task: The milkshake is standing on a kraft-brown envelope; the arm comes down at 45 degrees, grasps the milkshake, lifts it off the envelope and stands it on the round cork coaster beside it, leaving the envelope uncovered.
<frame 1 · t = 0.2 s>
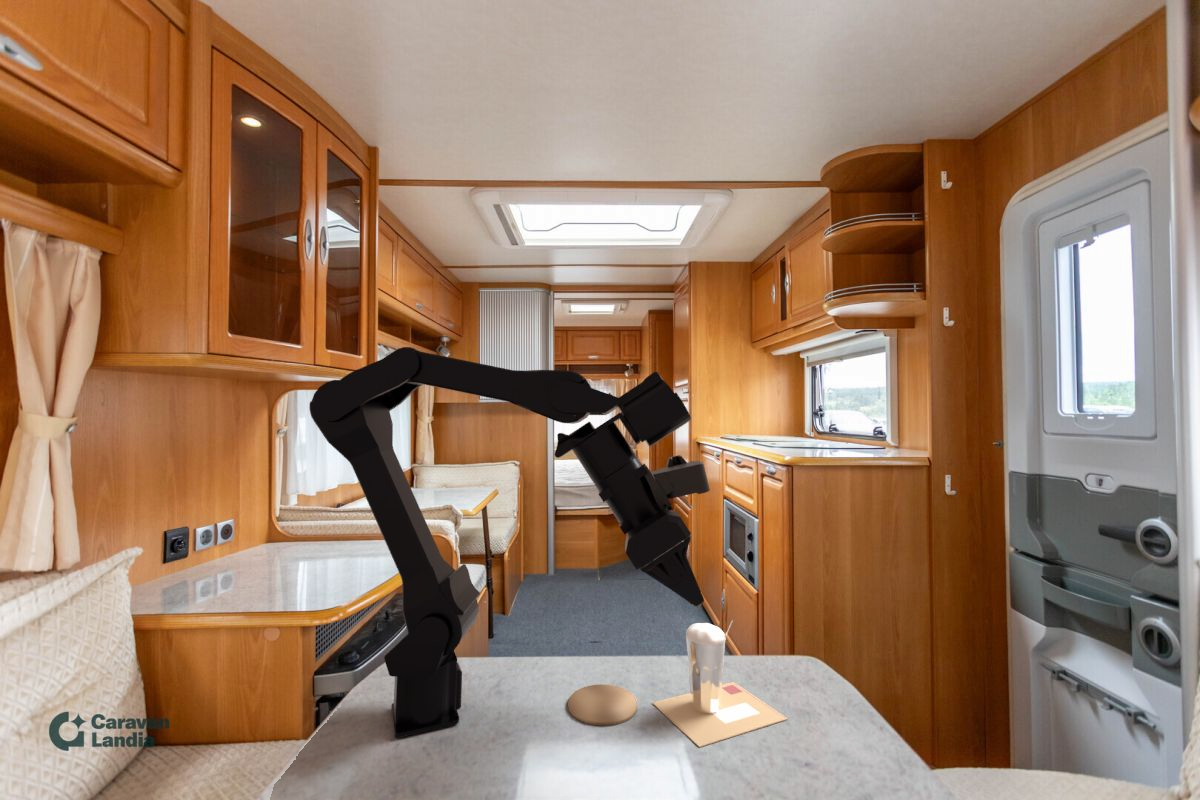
hand: (693, 589, 56), 14 cm above the table, tool tilted 35°, fingers open, 9 cm apart
coaster: (602, 705, 58), on the table
envelope: (718, 711, 57), on the table
milkshake: (709, 708, 58), resting on envelope
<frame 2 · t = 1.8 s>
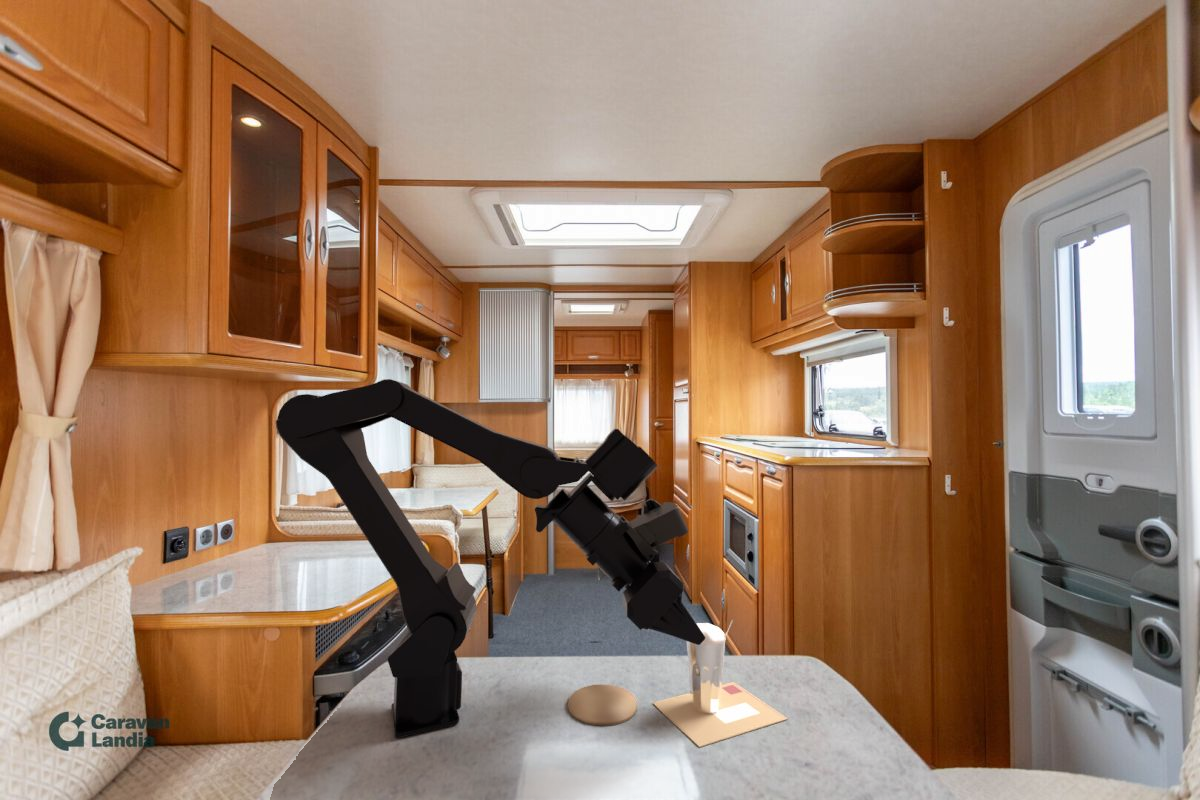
hand: (691, 624, 59), 9 cm above the table, tool tilted 45°, fingers open, 9 cm apart
nothing on the table moved.
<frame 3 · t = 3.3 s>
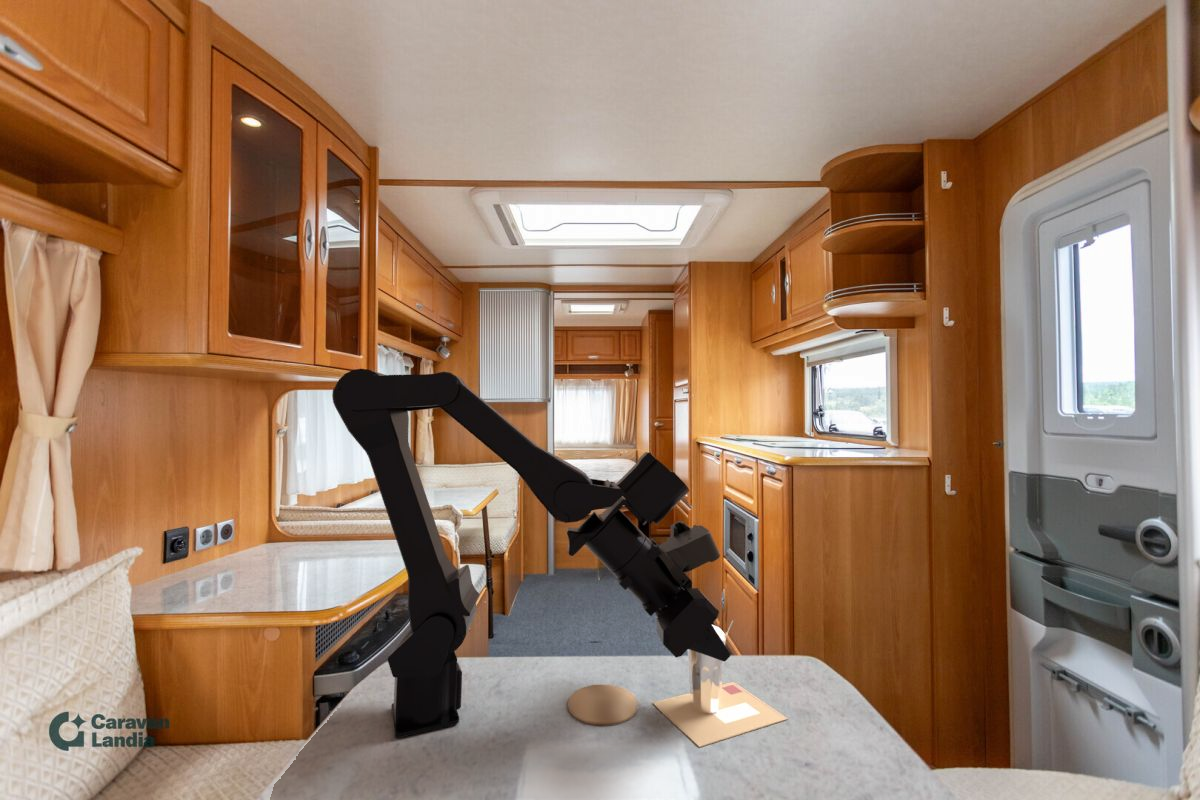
hand: (721, 648, 59), 7 cm above the table, tool tilted 45°, fingers closed on milkshake, 4 cm apart
milkshake: (709, 708, 58), resting on envelope, touching gripper
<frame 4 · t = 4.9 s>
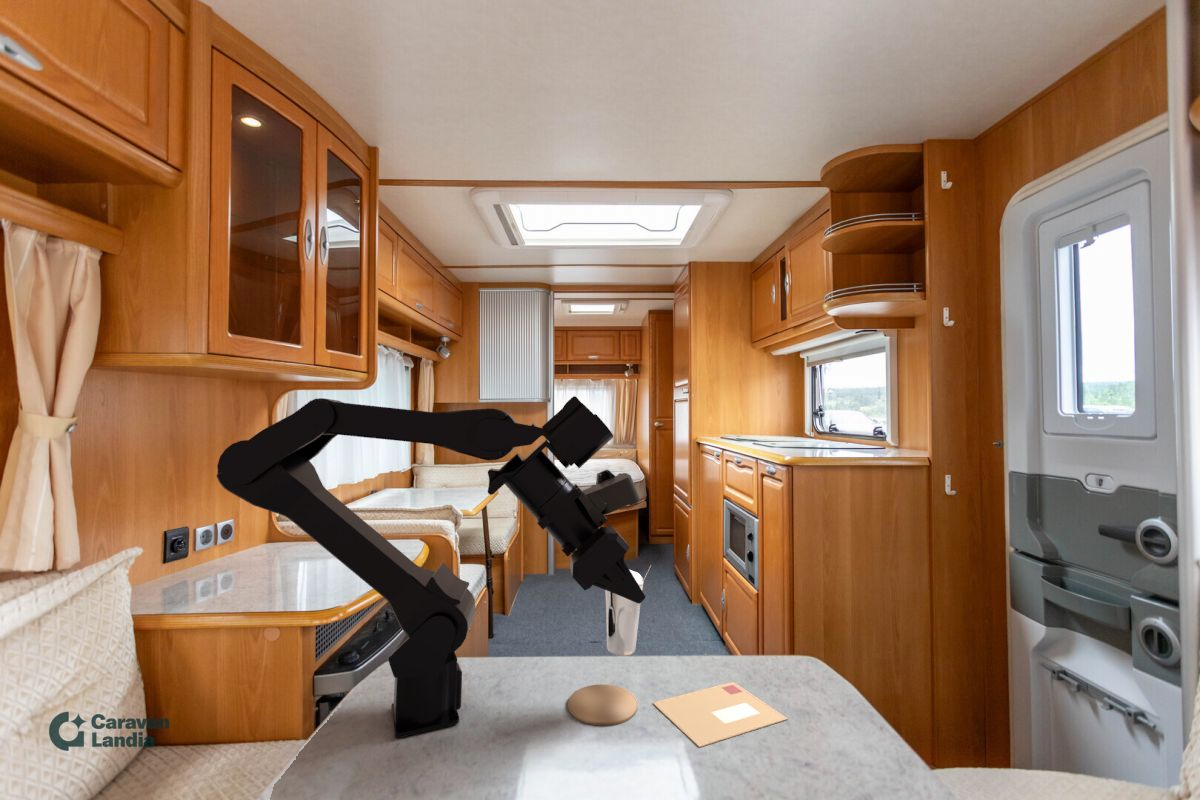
hand: (638, 593, 59), 13 cm above the table, tool tilted 45°, fingers closed on milkshake, 4 cm apart
milkshake: (624, 651, 59), point 6 cm above the table, touching gripper
when the fingers open (8 cm above the table, at t = 6.4 s): milkshake drops 1 cm, resting on coaster.
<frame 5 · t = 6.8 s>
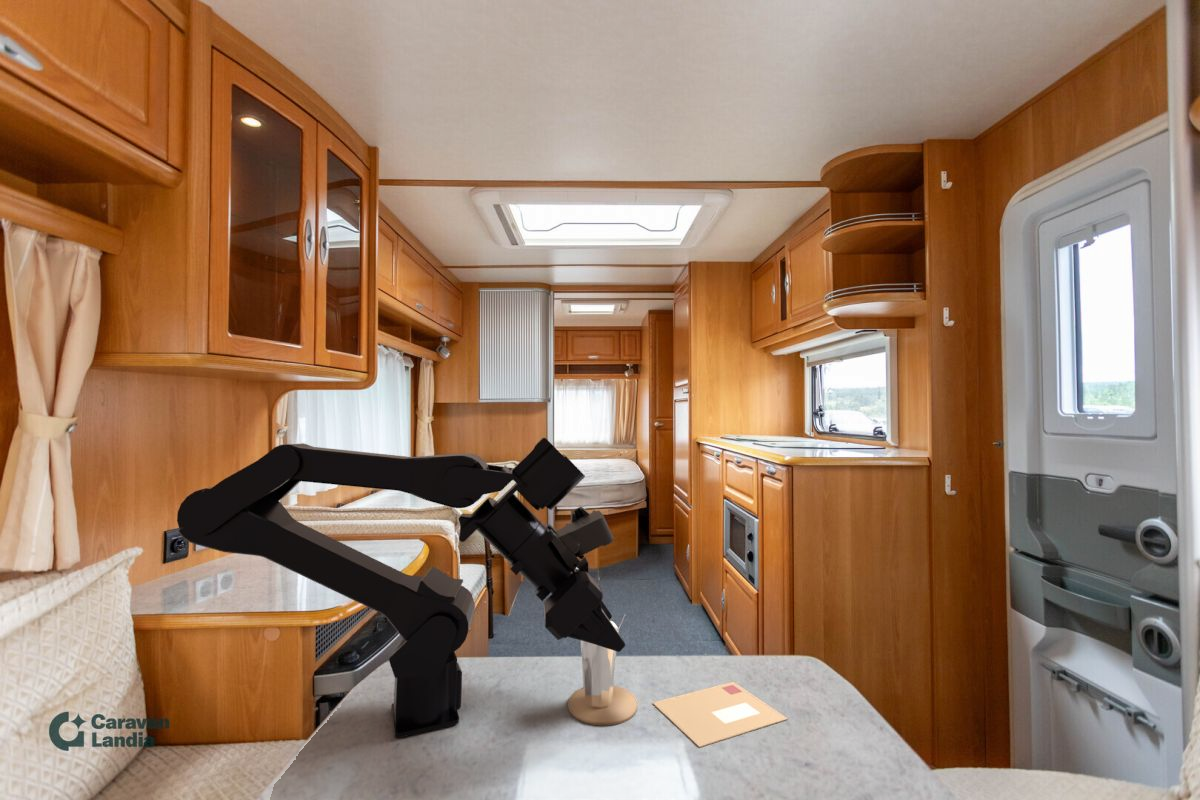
hand: (615, 632, 59), 8 cm above the table, tool tilted 45°, fingers open, 8 cm apart
milkshake: (601, 703, 58), resting on coaster
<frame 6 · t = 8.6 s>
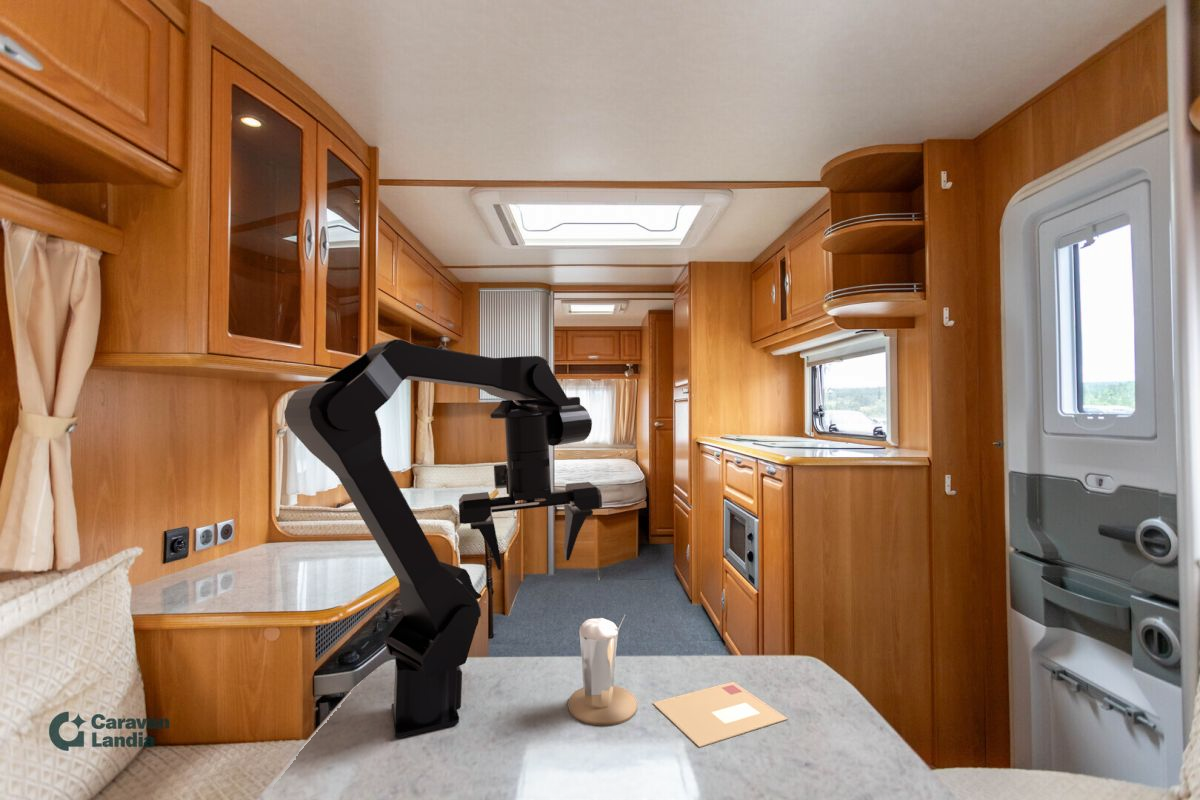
hand: (533, 564, 68), 14 cm above the table, tool pointing down, fingers open, 9 cm apart
nothing on the table moved.
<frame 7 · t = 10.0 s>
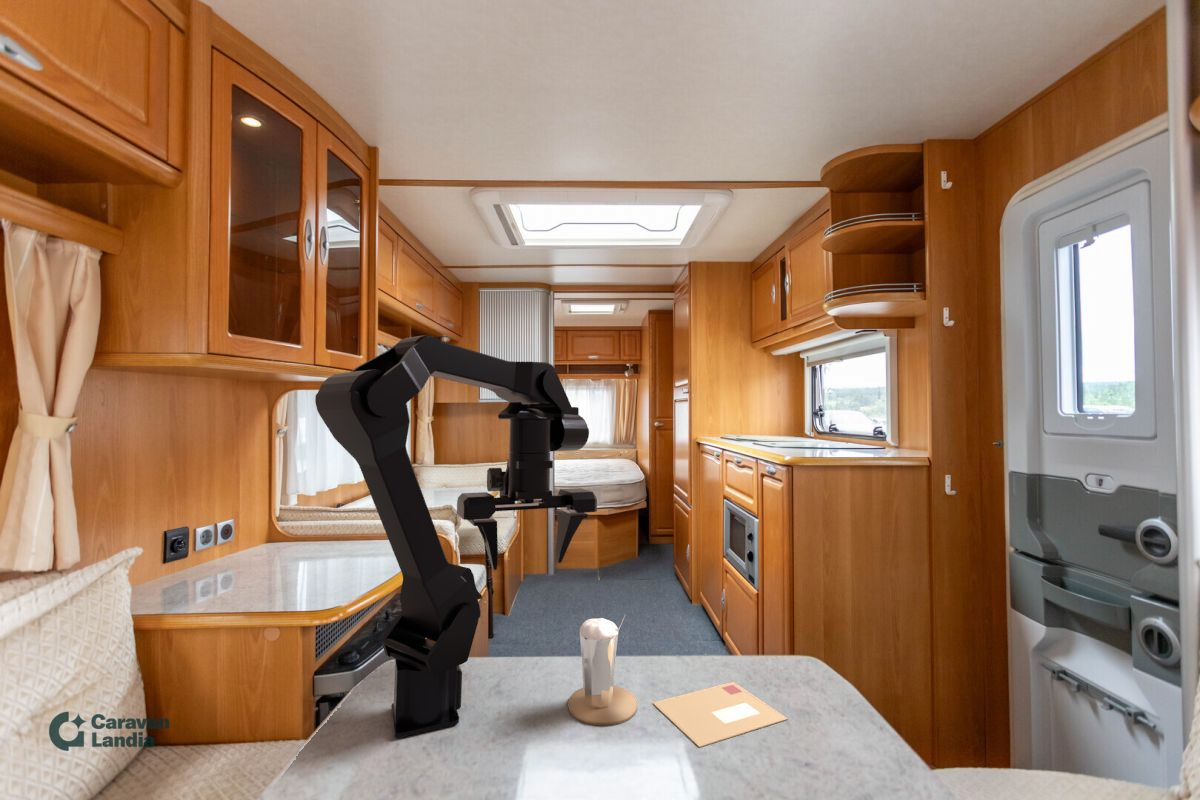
hand: (527, 565, 70), 13 cm above the table, tool pointing down, fingers open, 9 cm apart
nothing on the table moved.
at the end: milkshake inside the target area on the coaster (0.1 cm from its centre), point 0.2 cm above the coaster's base; milkshake tilted 0°; milkshake touching coaster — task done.
